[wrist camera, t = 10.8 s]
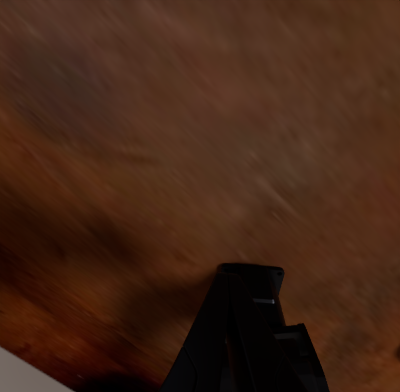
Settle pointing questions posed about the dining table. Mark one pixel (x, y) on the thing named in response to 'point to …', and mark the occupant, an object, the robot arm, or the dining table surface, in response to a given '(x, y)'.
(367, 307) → the dining table surface
